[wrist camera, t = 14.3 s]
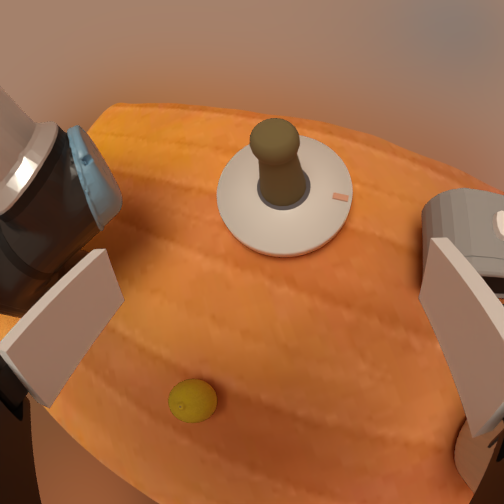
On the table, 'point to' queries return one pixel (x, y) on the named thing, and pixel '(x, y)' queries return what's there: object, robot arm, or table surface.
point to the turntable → (286, 217)
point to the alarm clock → (469, 230)
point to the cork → (278, 161)
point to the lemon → (192, 401)
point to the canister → (474, 454)
